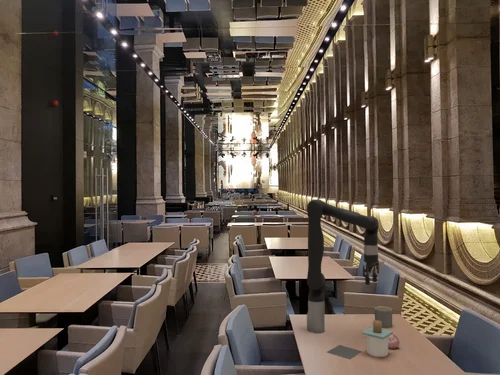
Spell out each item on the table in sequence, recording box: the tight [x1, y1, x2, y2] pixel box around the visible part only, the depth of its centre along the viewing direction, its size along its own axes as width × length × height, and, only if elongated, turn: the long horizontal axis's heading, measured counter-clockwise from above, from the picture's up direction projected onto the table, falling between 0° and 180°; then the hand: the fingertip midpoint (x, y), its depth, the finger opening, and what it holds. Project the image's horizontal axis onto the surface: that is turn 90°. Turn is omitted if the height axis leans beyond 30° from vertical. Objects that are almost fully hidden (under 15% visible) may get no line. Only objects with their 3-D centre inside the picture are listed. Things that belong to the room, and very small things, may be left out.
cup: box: [366, 335, 389, 358], centre depth 200 cm, size 10×10×10 cm
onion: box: [388, 333, 400, 350], centre depth 208 cm, size 8×8×7 cm
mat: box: [326, 344, 363, 360], centre depth 202 cm, size 13×13×1 cm
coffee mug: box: [374, 305, 393, 329], centre depth 245 cm, size 13×10×10 cm
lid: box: [361, 319, 394, 339], centre depth 200 cm, size 11×11×6 cm
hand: (371, 283), depth 221 cm, fingers open, 8 cm apart
